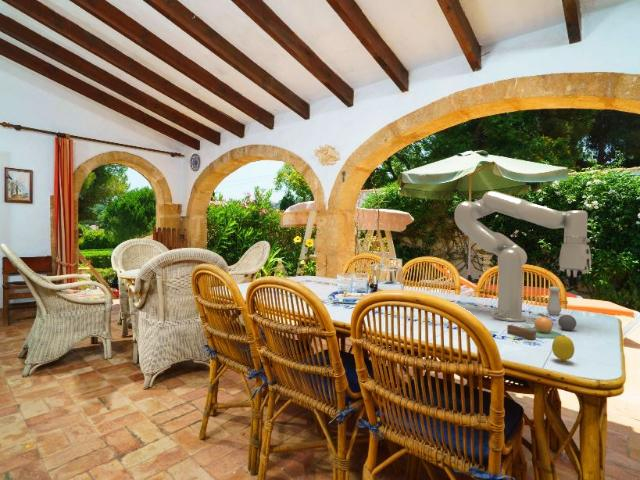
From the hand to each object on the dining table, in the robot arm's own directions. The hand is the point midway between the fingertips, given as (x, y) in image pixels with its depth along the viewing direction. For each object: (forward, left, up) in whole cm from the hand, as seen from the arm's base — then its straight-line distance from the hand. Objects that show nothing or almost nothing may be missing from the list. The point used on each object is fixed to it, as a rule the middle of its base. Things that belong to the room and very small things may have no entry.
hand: (573, 286), depth 149 cm
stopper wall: (-31, 0, -17) cm, 35 cm away
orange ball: (-18, 0, -14) cm, 23 cm away
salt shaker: (+18, +19, -17) cm, 31 cm away
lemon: (-44, -23, -17) cm, 53 cm away
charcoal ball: (-5, -1, -14) cm, 15 cm away
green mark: (-20, 0, -17) cm, 26 cm away
